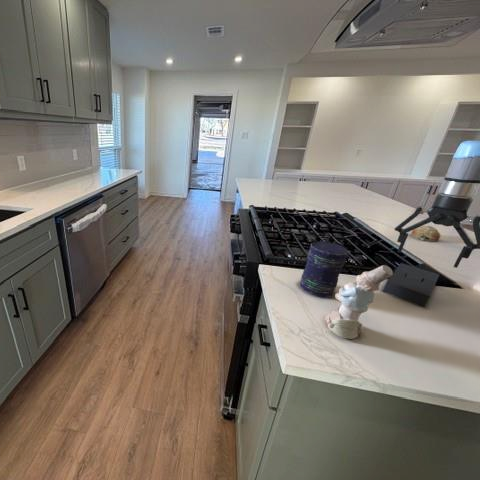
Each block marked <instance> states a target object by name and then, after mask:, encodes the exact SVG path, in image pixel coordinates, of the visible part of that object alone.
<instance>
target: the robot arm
mask: <svg viewBox="0 0 480 480" xmlns="http://www.w3.org/2000/svg"><path fill="white" fill-rule="evenodd" d="M479 189H480V140H465V141H462V142H461V143H460V144H459V146H458V147H457V149H456V151H455V153H454V155H453V156H452V160H451V162H450V164H449V166H448V170H447V171H446V174H445V176H444V178H443V180H442V182H441V185H440V187H439V189H438V194H436V196H435V198H434V201H433V203H432V205H431V207H430V208H427V207H423V206H422V205H420V206H418V207H416V209H415V211H414V212H413V213H412V214H411V215H409V216H408V217H406V218H405V220H403V221H402V222H401V223H399V224H398V225H397V226H396V227H395V228H394V231H395V232H398V233H399V236H398V238H397V240H396V241H397V243H400V244H399V246H398V248H397V251H396V252H397V253H399V254H400V253H401V252H402V251H403V248H404V247H405V244H406V241H407V239H408V237H409V232H412V231H413V230H414V229H416V228H418V227H422V226H426V225H428V224H430V223H433V224H434V225H441V226H444V227H453V228H454V230H455V231H456V232H457V234H458V235H459V237H460V238H461V240H462V241H463V243H464V245H463V247H462V249H461V251H460V253H459V255H458V257H457V258H456V260H455V262H454V265H453V268H456V269H457V268H458V267H459V265H460V263H461V262H462V259H466V260H467V259H469V258H470V256H471V254H472V252H473V251H474V250H480V214H477V215H472V214H468V212H469V209H470V207H471V205H472V204H473V202H474V199H473V198H474V197H476V196H477V193H478V191H479ZM424 213H426V214H427V215H428V216H427V218H425V219H422V220H420V221H419V222H415V223H414V224H412V225H410V226H407V227H405V226H406V225H407V224H409V223H410V222H412V221H413V220H414V219H415V218H417V217H418V216H419V215H423V214H424ZM465 220H468V222H469V223H470V224H472V229H473V233H474V237H475V241H476V243H474V241H473V240H472V238H471V237H470V236H469V235H468V233H467V231H466V229H465V228H464V227H463V224H462V223H461V222H462V221H465ZM404 227H405V228H404Z"/></svg>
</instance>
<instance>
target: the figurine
mask: <svg viewBox="0 0 480 480" xmlns="http://www.w3.org/2000/svg"><path fill="white" fill-rule="evenodd" d="M393 273H394V271H393V269H392V268H391V267H389V266H388V265H386V264H383V265H380V266H378V267H376V268H373V269H372V270H369V271H367V270H366V271H363V272H362V273H361V274H358V275H356V279H355V281H356V282H354V281H351V282H348V283H345V284H343V285H341V287H340V288H339V289H338V292H336V293H335V295H334V296H335V299H336V300H338V301H339V303H340V306H339V307H336V308H335V309H333V310H331V311H330V313H329V314H328V315H326V316H325V321H326V324H327V328H328V329H329V330H330V331H331V332H333V333H334V334H335V335H337V336H338V337H341V338H344V339H350V340H352V339H356V338H358V336H359V334H364V329H363V324H362V323H361V322H360V321H359V318H360V316H361V315H362V314H364V313H367V311H368V310H369V307H368V305H370V304H372V303H373V302H374V299H375V295H376V293H375V292H378V291H380V286H381V285H380V284H381V283H382V282H384V281H386V280H388V279H389V278H390V277H391V276H392V275H393Z"/></svg>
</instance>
